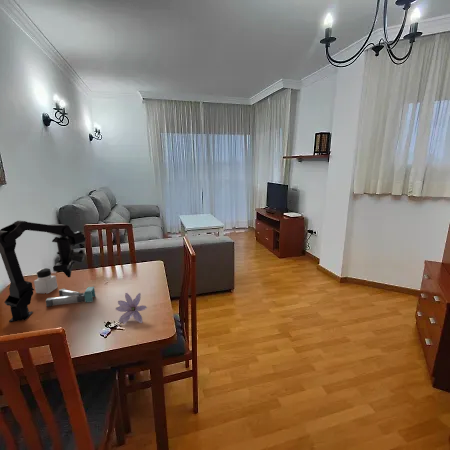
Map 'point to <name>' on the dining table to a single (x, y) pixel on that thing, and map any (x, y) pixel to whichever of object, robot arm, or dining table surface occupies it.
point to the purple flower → (130, 308)
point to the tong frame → (65, 300)
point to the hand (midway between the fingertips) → (69, 277)
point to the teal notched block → (89, 294)
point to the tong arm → (67, 292)
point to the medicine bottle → (45, 281)
